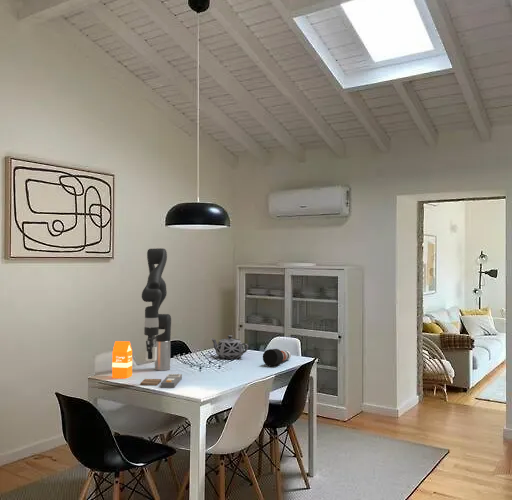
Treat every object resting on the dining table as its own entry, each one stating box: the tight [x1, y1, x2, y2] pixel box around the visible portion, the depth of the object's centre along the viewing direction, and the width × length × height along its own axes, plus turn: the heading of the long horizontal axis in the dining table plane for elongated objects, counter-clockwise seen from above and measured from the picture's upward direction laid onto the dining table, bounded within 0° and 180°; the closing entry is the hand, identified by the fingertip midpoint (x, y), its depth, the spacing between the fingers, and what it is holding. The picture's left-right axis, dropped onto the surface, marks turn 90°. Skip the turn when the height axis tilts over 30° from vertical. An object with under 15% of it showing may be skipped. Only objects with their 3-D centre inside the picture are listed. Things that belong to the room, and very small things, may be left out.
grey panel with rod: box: [160, 373, 183, 389], centre depth 300 cm, size 30×7×3 cm, turn 177°
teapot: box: [210, 334, 249, 360], centre depth 376 cm, size 19×31×15 cm, turn 60°
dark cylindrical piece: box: [262, 348, 292, 367], centre depth 358 cm, size 10×34×10 cm, turn 155°
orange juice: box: [111, 340, 133, 379], centre depth 312 cm, size 8×9×20 cm
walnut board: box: [139, 378, 162, 386], centre depth 296 cm, size 10×9×1 cm
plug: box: [145, 345, 157, 362], centre depth 296 cm, size 4×5×8 cm
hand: (151, 358), depth 296 cm, fingers closed on plug, 4 cm apart
